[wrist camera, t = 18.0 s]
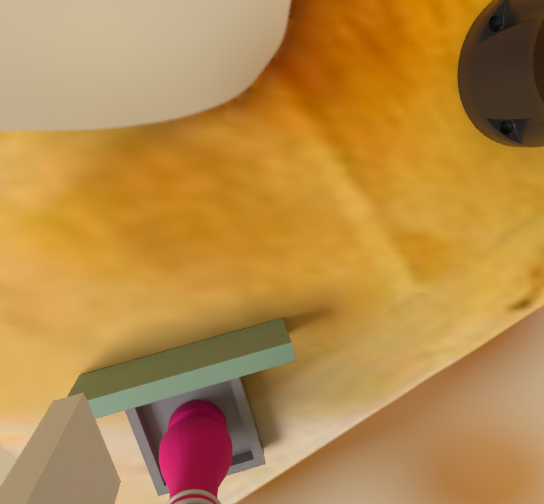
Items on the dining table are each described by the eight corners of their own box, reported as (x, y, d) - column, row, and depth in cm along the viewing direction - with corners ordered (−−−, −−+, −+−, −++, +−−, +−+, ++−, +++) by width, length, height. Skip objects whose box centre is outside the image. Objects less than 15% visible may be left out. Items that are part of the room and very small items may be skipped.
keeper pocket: (235, 357, 49) (236, 369, 47) (263, 449, 52) (265, 463, 50) (126, 389, 49) (121, 402, 46) (161, 479, 52) (158, 496, 49)
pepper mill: (181, 385, 48) (159, 549, 29) (242, 409, 50) (260, 580, 31) (152, 440, 49) (113, 634, 30) (213, 462, 51) (212, 659, 32)
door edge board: (282, 317, 49) (291, 342, 43) (286, 334, 49) (296, 360, 44) (79, 375, 48) (60, 408, 42) (86, 391, 48) (68, 426, 42)
